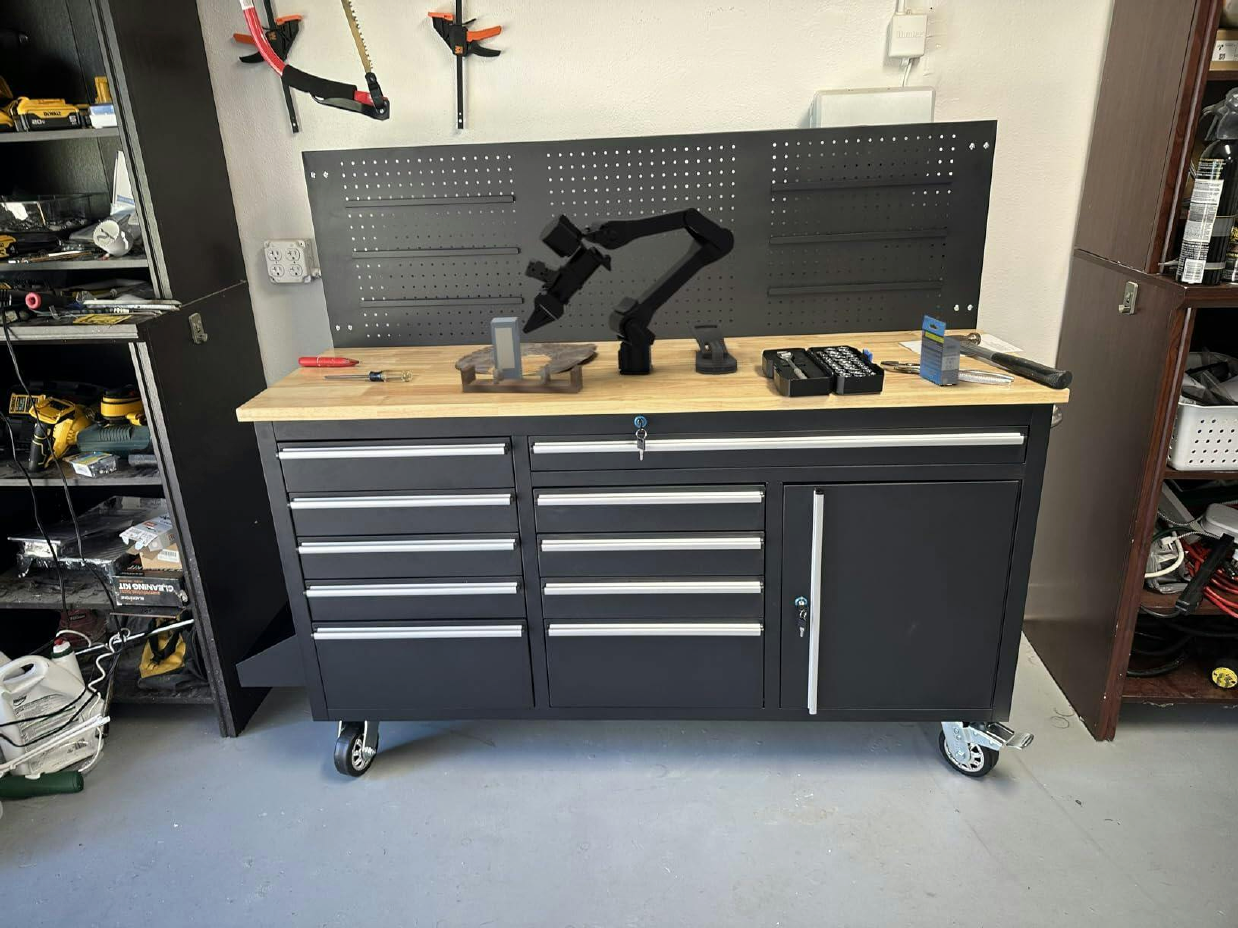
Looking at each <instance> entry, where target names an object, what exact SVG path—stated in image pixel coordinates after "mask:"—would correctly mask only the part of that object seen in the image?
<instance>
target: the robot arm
mask: <svg viewBox="0 0 1238 928" xmlns="http://www.w3.org/2000/svg"><path fill="white" fill-rule="evenodd" d="M681 229H683V230H684V231H685V232H686V233H687V235H688V236H690V238H691V239H693V240H692V241H691V244H690V245H689V248H688V251H687V252H686V253H685V254H684V255H683V256H682V257H680V259H678V261H677V262H675V264H673V265H672V266H671V267H670V268H669V269H668V270H667V271H666V272H664V273H663V275H661V276H660V277H659V278H658V279H657V280H656V281H655V282H654V283H653V284H652V285H651V286H650V287H648V288H647V289H645V291H644V292H643V293H642V294H641V295H640V296H638V297H636V298H633V297H630V296H627V295H626V296H625V297H623V298H622V299H621V301H620V302H619V303H618V304H617V305H615V306H613V307H611V309H612V311H611V313H610V314H609V316H608V326H609V329H610V331H611V332H612V333H614V334H615V336H616V338H617V341H620V344H619V349H618V351H617V364H618V370H619V372H618V373H619V375H650V374H651V371H652V370H653V368H654V364H653V363H652V346H654V344H655V340H656V334H655V333H654V332H653V331H651V330H650V329H649V325H651V322H652V319H653V317H654V315H655V314H656V313H655V312H657V311H658V310H659V309H660V308H661V307H662V306H663V305H664V304H665V303H666V302H667V301H668V300H669V299H671V298H672V297H673V295H676V293H677V292H678V291H679V290H680V289H681V288H682V287H684V286H685V285H686V283H688V282H689V281H690V280H691V279H692V278H693V277H695V276H696V274H697V273H699V272H700V271H701V270H702V269H703V268H705V267H707V266H709V265H711V264H714V263H716V262H719V261H720V260H721V259H723V258H724V257H726V256H727V255H728V254H730V253H731V252H732V251H733V249H734V248H735V237H734V234H733V232H732V231H731V230H730V229H728V228H727V227H726V228H725V227H721V226H719V225H718V223H716V222H714V221H713V220H711V219H709V218H708V217H706V216H705V215H704V214H702V213H701V212H700V211H699V210H697V208H694V207H690V206H689V207H688V206H687V207H686V206H682V207H680V208H678V209H673V210H669V211H664V212H659V213H654V214H653V213H652V214H649V215H644V216H639V217H634V218H598V219H595V220H594V221H592V223H591V225H590V226H588V227H584V228H580V229H579V228H578V227H577V226H576V225H575V224H574V223H573V222H571V221H570V219H569V218H568V217H567V216H566V215H565V214H564V213H558V215H557V216H556V217H555V218H553V219H551V221H550V222H549V223H548V224H546V225H545V226H544V227H543V229H542V231H541V232H540V234H539V237H538V240H539V241H540V242H541V243H543V244H544V245H545V246H546V247H547V248H548V249H549V250H551V251H552V252H553V253H554V254H555V255H557V256H558V258H560V259H562V258H565V257H567V258H568V259H567V260H566V262H564V263H563V264H560V265H559V266H558V267H554V266H552V265H549V264H547V263H546V261H541V260H540V259H535V258H533V257H532V258H530V259H529V260H528V263H527V266H526V269H525V271H524V276H525V277H528V278H530V279H531V278H533V279H534V280H538V281H540V282H542V283H543V284H542V285H540V286H541V287H540V288H539V290H538V291H539V292H537V294H536V295H535V297H534V298H533V306H534V309H533V311H532V312H531V313H530V316H529V317H528V320H526V323H525V325H524V326H523V328H522V331H521V332H523V333H524V334H526V335H527V334H529V333H531V332H533V331H536V330H539V329H540V328H542V327H544V326H546V325H549V324H551V323H553V322H555V321H558V320H559V319H560V318H561V317H562V316H563V315H564V314H565V312H566V306H568V305H569V304H570V302H571V300H572V299H573V298H574V297H575V295H577V293H578V292H580V291H581V290H582V289H583V288H584V286H585V285H586V283H587V282H588V281H589V280H590V279H591V278H592V277H593V275H595V273H597V271H598V270H599V269H600V268H601V267H603V268H605V270H606V271H608V272H610V271H612V256H611V254H604V253H603V252H601V251H600V250H599V249H602V250H603V249H605V250H609V251H614V250H618V249H620V248H621V247H625V246H627V245H628V244H630V243H632V242H633V241H635V240H637V239H640V238H644V237H648V236H653V235H659V234H663V233H667V232H668V233H669V232H671V231H672V232H673V231H677V230H681ZM584 242H588V243H591V244H592V245H593V246H590V247H589V246H588V245H586V244H585V243H584ZM598 248H599V249H598Z"/></svg>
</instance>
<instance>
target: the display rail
mask: <svg viewBox="0 0 1238 928" xmlns="http://www.w3.org/2000/svg"><path fill="white" fill-rule="evenodd" d="M543 366H544V368H545V369H541V368H540V369H541V370H539V371H541V376H540V379H539V378H533V379H530V378H522V379H503V369H502V365H499V366H497V368H498V369H495V368H493V369H492V373H493V374H492V376H493V377H492V378H477V374H475V365H468V366H466V367H465V368H464V369H462V370H460V378H461V388H462V393H499V394H500V393H501V394H502V393H504V394H505V393H507V394H509V393H511V394H512V393H514V394H515V393H518V394H519V393H520V394H523V393H524V394H525V393H526V394H529V393H530V394H578V393H579V392H580V390H582V388H583V386H584V385H583V384H584V383H583V382H584V381H583V369H582V368H583V367H582V364H577V365H575V366H573V367H572V369H570V371H569V376H570V378H569V379H567V378H566V379H564V378H563V379H562V378H561V379H560V378H557V379H556V378H555V379H554V378H551V374H550V369H549V366H545V365H543Z"/></svg>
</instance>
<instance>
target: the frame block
mask: <svg viewBox="0 0 1238 928" xmlns="http://www.w3.org/2000/svg"><path fill="white" fill-rule="evenodd" d="M490 331H491V340H492V341H491V343H492V346H493V354H494V365H495V367H494V369H498V368H497V366H499V365H502V369H503V379H524V376H523V375H524V374H523V365H522V364H523V363H522V357H521V350H520V343H521V339H520V327H519V317H518V316H511V317H510V316H509V317H508V316H507V317H494V318H493V319H492V320H491V321H490Z"/></svg>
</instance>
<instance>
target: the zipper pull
mask: <svg viewBox="0 0 1238 928" xmlns="http://www.w3.org/2000/svg"><path fill="white" fill-rule="evenodd" d="M687 326H688V330H689V331H690V332H691V335H692V336H693V337H694V339H695V341H696V343H697V345H698V347H699V350H696V351H695V361H694V363H695V368H694V369H695V370H694V371H695V372H696V373H697V374H700V375H707V376H708V375H709V376H711V375H712V376H716V375H717V376H718V375H728V374H734V373H736V372H737V371H738V359H737V358H736V357H734V356H733V355H731V354H730V353H729V351H728V348H727V345H726V342H725V337H724V332H723V330H724V329H723V326H722V322H721V321H695V322H688V324H687Z"/></svg>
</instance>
